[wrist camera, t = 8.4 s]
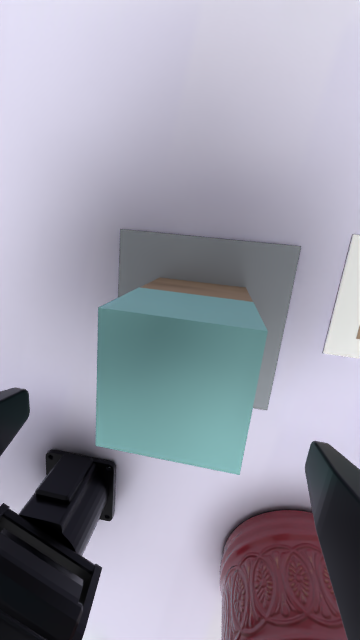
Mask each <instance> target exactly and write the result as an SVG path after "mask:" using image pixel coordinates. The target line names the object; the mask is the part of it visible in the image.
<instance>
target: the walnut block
mask: <svg viewBox="0 0 360 640" xmlns="http://www.w3.org/2000/svg"><path fill="white" fill-rule="evenodd" d="M140 288H148V289H155V290H163V291H171V292H179V293H187V294H195V295H202V296H210V297H218V298H226V299H234V300H242V301H249V302H253V301H252V299H251V297H250V295H249V293H248V291H247V289H246V287H237V286H229V285H220V284H211V283H203V282H194V281H186V280H177V279H168V278H158V279H156V280H154V281H152V282H150V283H148V284H146V285H144V286H142V287H140Z"/></svg>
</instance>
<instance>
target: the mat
mask: <svg viewBox="0 0 360 640" xmlns="http://www.w3.org/2000/svg"><path fill="white" fill-rule="evenodd" d="M300 250H301V246H292V245H282V244H271V243H261V242H251V241H240V240H230V239H219V238H209V237H198V236H188V235H178V234H167V233H157V232H146V231H136V230H126V229H120V255H119V284H118V298H119V297H121V296H123V295H125V294H127V293H129V292H131V291H133V290H135V289H137V288H139V287H142V286H144V285H146V284H148V283H150V282H152V281H154V280H156V279H158V278H168V279H177V280H186V281H194V282H203V283H211V284H220V285H229V286H237V287H246V289H247V291H248V293H249V295H250V297H251V299H252V301H253V302H254V304H255V306H256V308H257V310H258V312H259V314H260V316H261V318H262V320H263V322H264V324H265V326H266V328H267V330H268V333H267V338H266V343H265V348H264V353H263V358H262V363H261V368H260V373H259V379H258V384H257V389H256V394H255V399H254V404H253V408H256V409H262V410H267V409H268V404H269V399H270V395H271V390H272V385H273V380H274V375H275V370H276V366H277V361H278V356H279V351H280V346H281V341H282V337H283V332H284V327H285V322H286V317H287V312H288V308H289V303H290V298H291V293H292V288H293V284H294V279H295V274H296V269H297V264H298V259H299V255H300Z"/></svg>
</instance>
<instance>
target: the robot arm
mask: <svg viewBox="0 0 360 640" xmlns="http://www.w3.org/2000/svg"><path fill="white" fill-rule="evenodd" d="M29 413H30V407H29V393H28V391H27V390H26V389H20V388H11V389H8V390H4V391H0V456H1V455H2V453H3V452H4V451H5V449H6V448H7V447H8V445H9V444H10V442H11V441H12V440H13V438H14V437H15V435H16V434H17V433H18V431H19V430H20V428H21V427H22V426H23V424H24V423H25V422H26V420H27V419H28V417H29ZM109 467H110V468H109ZM115 473H116V465H115V464H114V463H113V462H112V461H108V460H103V459H98V458H93V457H88V456H83V455H78V454H73V453H68V452H63V451H58V450H53V449H51V450H49V451H48V453H47V454H46V474H47V476H46V478H45V479H44V480H43V482H42V483H41V484H40V485H39V487H38V488H37V489H36V491H35V493H34V495H33V496H32V497H31V499H30V500H29V501H28V502H27V504H26V505H25V506H24V508H23V509H22V510H21V512H20V513H19V514H17V513H15V512H14V511H12V510H11V509H9V506H7V505H6V504H4V503H3V504H2V505H1V506H0V640H82V638H83V635H84V631H85V628H86V625H87V621H88V618H89V614H90V610H91V607H92V603H93V599H94V596H95V592H96V588H97V585H98V581H99V577H100V574H101V570H102V567H100V566H99V565H97V564H95V565H94V564H93V563H91V562H90V561H88V560H87V559H85V558H84V557H82V555H83V553H84V551H85V549H86V546H87V544H88V542H89V540H90V538H91V535H92V533H93V531H94V529H95V527H96V525H97V522H98V520H99V519H101V520H105V521H111V520H112V518H113V515H114V499H115ZM305 473H306V479H307V484H308V490H309V495H310V501H311V506H312V512H313V517H314V522H315V527H316V531H317V535H318V539H319V542H320V546H321V549H322V553H323V556H324V560H325V563H326V567H327V570H328V574H329V577H330V580H331V584H332V587H333V591H334V594H335V598H336V601H337V605H338V608H339V612H340V615H341V619H342V622H343V625H344V629H345V632H346V636H347V639H348V640H360V469H358V468H357V467H356V466H355V465H354V464H352V463H351V462H350V461H349V460H348V459H346V458H345V457H344V456H343V455H341V454H340V453H339V452H338V451H337V450H335V449H334V448H333V447H332V446H331V445H329V444H328V443H324V442H318V441H313V442H312V443H311V445H310V449H309V452H308V456H307V460H306V464H305Z"/></svg>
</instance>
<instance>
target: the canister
mask: <svg viewBox="0 0 360 640" xmlns="http://www.w3.org/2000/svg"><path fill="white" fill-rule="evenodd" d="M220 590H221V595H222V640H348V639H347V636H346V632H345V629H344V625H343V622H342V619H341V615H340V612H339V608H338V605H337V601H336V598H335V594H334V591H333V587H332V584H331V580H330V577H329V574H328V570H327V567H326V563H325V560H324V556H323V553H322V549H321V546H320V542H319V539H318V535H317V531H316V527H315V522H314V517H313V513H311V512H306V511H298V510H279V511H272V512H267V513H263V514H260V515H257V516H254V517H252V518H250V519H248V520H246V521H245V522H243V523H242V524H240V525H239V526H238V527H237V528H236V529H235V530H234V531H233V532H232V533H231V535H230V536H229V538H228V539H227V541H226V544H225V547H224V552H223V558H222V561H221V566H220Z"/></svg>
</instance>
